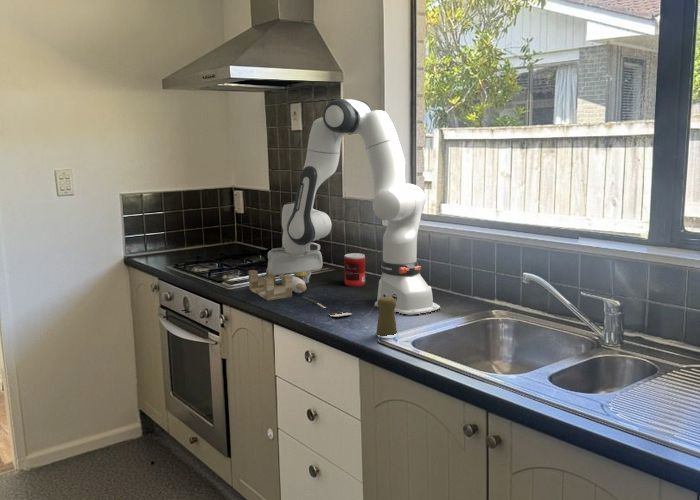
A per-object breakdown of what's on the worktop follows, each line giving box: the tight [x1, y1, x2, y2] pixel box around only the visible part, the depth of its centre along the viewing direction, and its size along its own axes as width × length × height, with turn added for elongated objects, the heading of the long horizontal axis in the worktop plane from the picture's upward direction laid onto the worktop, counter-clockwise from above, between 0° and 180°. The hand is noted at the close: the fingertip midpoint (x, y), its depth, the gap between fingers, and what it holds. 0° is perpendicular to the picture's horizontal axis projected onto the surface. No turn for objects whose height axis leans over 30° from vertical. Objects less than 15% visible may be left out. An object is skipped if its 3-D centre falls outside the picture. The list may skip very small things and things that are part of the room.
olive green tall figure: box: [376, 297, 398, 336], centre depth 188 cm, size 6×6×11 cm
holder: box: [248, 267, 293, 301], centre depth 236 cm, size 18×9×7 cm, turn 29°
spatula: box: [302, 296, 353, 318], centre depth 218 cm, size 6×29×2 cm, turn 29°
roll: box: [285, 273, 307, 294], centre depth 240 cm, size 16×5×5 cm, turn 29°
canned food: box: [343, 252, 366, 288], centre depth 247 cm, size 8×8×11 cm
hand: (295, 284), depth 241 cm, fingers open, 7 cm apart
